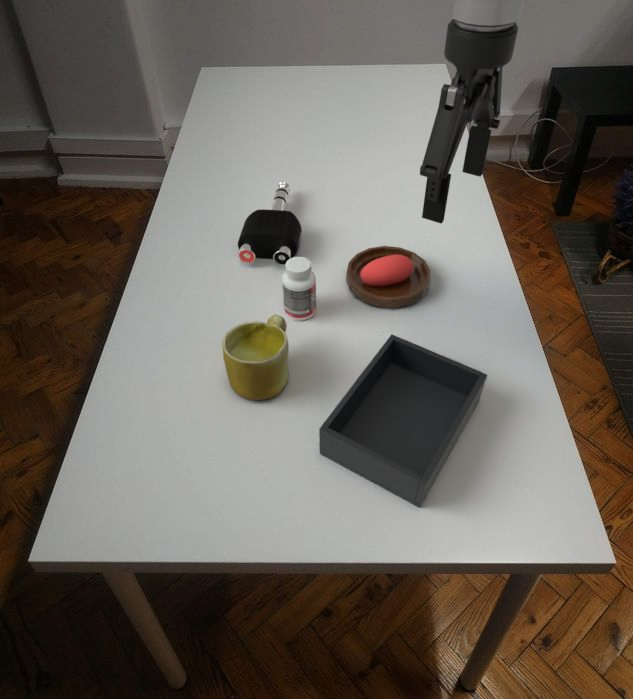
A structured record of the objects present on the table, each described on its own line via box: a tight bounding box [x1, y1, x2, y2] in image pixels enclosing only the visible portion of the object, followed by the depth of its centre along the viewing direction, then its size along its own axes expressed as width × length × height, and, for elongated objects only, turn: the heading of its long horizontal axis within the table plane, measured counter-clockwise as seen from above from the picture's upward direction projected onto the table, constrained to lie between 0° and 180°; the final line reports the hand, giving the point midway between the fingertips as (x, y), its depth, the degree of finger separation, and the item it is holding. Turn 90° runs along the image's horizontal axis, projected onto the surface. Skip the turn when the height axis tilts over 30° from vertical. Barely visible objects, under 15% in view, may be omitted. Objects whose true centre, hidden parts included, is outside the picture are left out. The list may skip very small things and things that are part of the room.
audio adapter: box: [237, 181, 303, 266], centre depth 107 cm, size 11×5×25 cm
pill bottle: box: [281, 256, 317, 322], centre depth 89 cm, size 5×5×10 cm
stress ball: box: [361, 255, 413, 286], centre depth 95 cm, size 5×9×6 cm, turn 97°
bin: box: [318, 333, 488, 509], centre depth 74 cm, size 15×20×6 cm
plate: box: [345, 245, 431, 309], centre depth 96 cm, size 14×14×2 cm
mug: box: [221, 313, 289, 401], centre depth 81 cm, size 12×10×10 cm
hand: (453, 195), depth 76 cm, fingers open, 13 cm apart
